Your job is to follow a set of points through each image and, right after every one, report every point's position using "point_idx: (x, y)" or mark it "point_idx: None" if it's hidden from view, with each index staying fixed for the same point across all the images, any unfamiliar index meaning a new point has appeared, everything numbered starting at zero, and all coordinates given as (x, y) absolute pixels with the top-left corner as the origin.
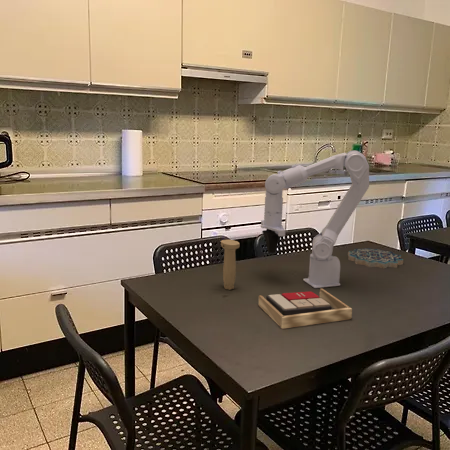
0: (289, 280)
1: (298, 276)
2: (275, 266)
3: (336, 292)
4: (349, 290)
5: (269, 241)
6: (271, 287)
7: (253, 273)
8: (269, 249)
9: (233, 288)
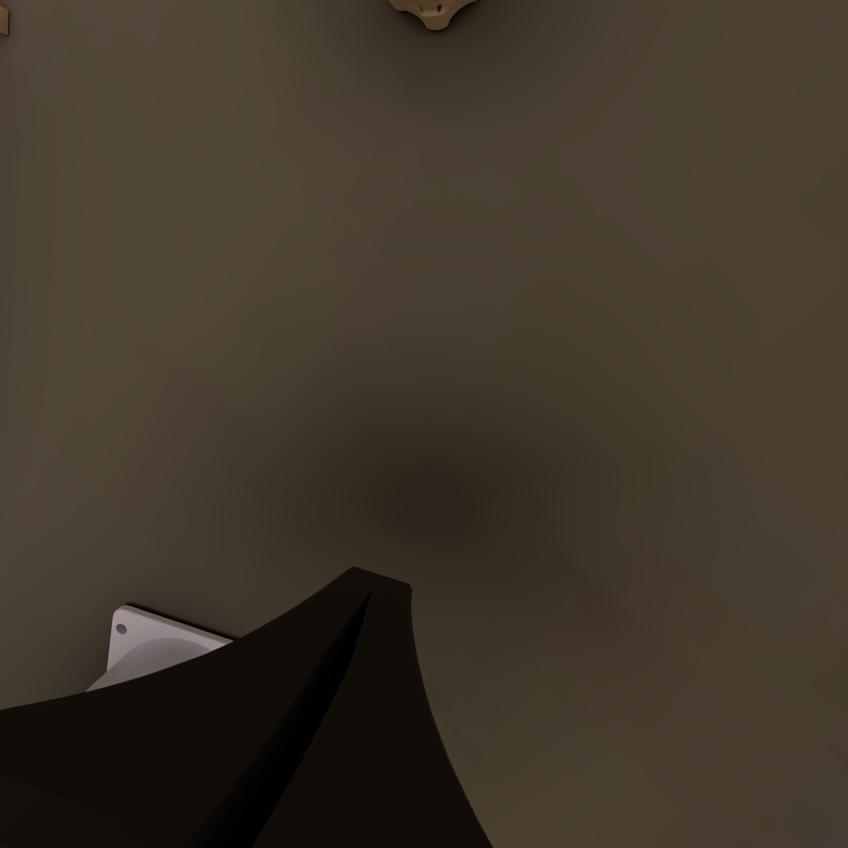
0: None
1: None
2: (665, 725)
3: (31, 660)
4: None
5: (192, 663)
6: (276, 359)
7: (637, 449)
8: (327, 590)
9: (395, 7)
